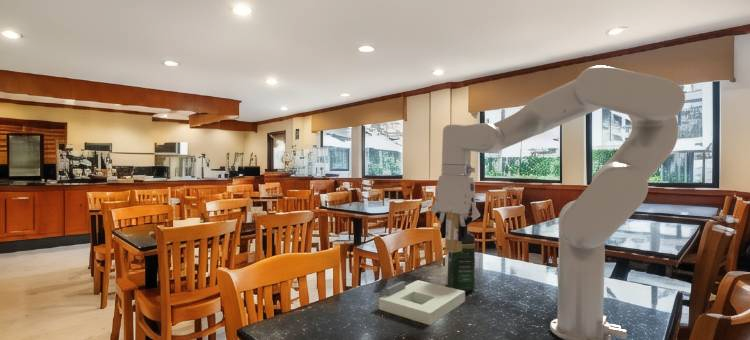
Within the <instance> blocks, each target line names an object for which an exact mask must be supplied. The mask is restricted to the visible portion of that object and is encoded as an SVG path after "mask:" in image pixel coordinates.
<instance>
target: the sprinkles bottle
mask: <svg viewBox="0 0 750 340" xmlns="http://www.w3.org/2000/svg"><path fill="white" fill-rule="evenodd" d="M449 208H450V209H452V207H449ZM459 226H461V223H460V217H459V214H455V213H452V211H450V212H448V213H446V237H445V238H444V239H445V247H444V250H445V251H446V252H448V251H449V252H460V251H462V248H461V246H462V245H461V243H462V241H458V232H459Z"/></svg>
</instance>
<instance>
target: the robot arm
mask: <svg viewBox="0 0 750 340" xmlns="http://www.w3.org/2000/svg"><path fill="white" fill-rule="evenodd" d="M685 103H686V95H685V91H684V90H683V88H682V87H681V86H680V85H679V83H676V82H675V81H673V80H671V79H669V78H664V77H661V76H656V75H652V74H648V73H647V74H646V73H643V72H637V71H636V72H635V71H631V70H627V69H622V68H618V67H612V66H606V65H595V66H594V65H593V66H590V67H587V68H586V69H584V70H583V71H581V73H580V74H579V75H578V76H577V77H576V78H575V79H573V80H571V81H569V82H567V83H565V84H562V85H560V86H558V87H556V88H554V89H552V90H549V91H547V92H544V93H542V94H541V95H539V96H536V97H534V98H533V99H530V100H529V101H528V102H527V103H526V104H525V105H524V106H523V107H522V108H521V109H519V110H518V111H517V112H515V113H513V114H511V115H509V116H508V117H507V116H506V118H503V119H502V120H499V121H497V122H494V123H492V124H491V123H487V122H482V123H476V124H467V125H466V124H446V125H445V126H444V127H443V130H442V142H441V144H442V146H441V148H442V150H441V175H438V181H437V185H436V189H435V199H434V200H435V201H434V202H433V204H432V206H431V207H430V209H429V210H430V212H431V213H432V214H433V215H434V216H435V217H436V218H437V220H438V223H440V235H441V239H446V238H445V237H446V213H448V212H450V211H452V213H455V214H459V217H460V223H461V226H459V232H458V241H464V240H466V238H467V231H468V226H469V225H470V224H471V223H472V222H473V221H474V220H476V219H478V218H479V217H481V213H480V212H479V210H478V208H477V203H476V202H477V200H476V186H475V179H474V177H473V176H471V175H472V173H473V174H475V173H476V167H472V165H471V160H472V159H471V158H472V152H474V153H475V152H476V153H481V154H493V153H497V152H499V151H501V150H505V149H506V148H509V147H511V146H514V145H516V144H519V143H521V142H524V141H525V140H528V139H530V138H532V137H536V136H538V135H541V134H543V133H546V132H548V131H550V130H553V129H554V128H557V127H559V126H562V125H564V124H566V123H569V122H571V121H574V120H576V119H579V118H581V117H583V116H586V115H589V114H591V113H593V112H596V111H597V110H600V109H606V110H609V111H612V112H616V113H621V114H623V115H627V117H628V118H629V119H630V122H631V131H630V133H629V135H628V137H627V138H626V139H625V140H624V141H623V143H622V144H621V145H620V147H619V148H618V149H617V150H616V151H615V152H614V154H613V155H611V157H610V158H609V159H608V160H607V161H606V162H605V163H604V164H603V165H602V166H601V167H600V168H599V169H598V170H597V171H596V172H595V173H594V175H593V176H592V179H591V182H590V184H589V185H587V187H586V188H585V190H583V191H582V193H581V194H580V195H579V196H578V197H577V199H574V200H573V201H572V200H571V201H569V202H568V203H566V204H565V205H563V207H562V209H561V210H560V212H559V214H558V264H557V265H558V267H557V269H558V271H557V275H558V276H557V318H555V319H553V320H551V321H550V324H549V325H550V326H549V327H550V331H551V332H552V333H553V334H554V335H556V337H558V338H560V339H562V340H612V337H616V338H618V339H622V340H626V339H627V330H626V329H622V326H621V325H618V324H613V323H610V322H609V321H607V316H606V315H604V300H605V299H604V297H605V296H604V295H605V291H604V290H605V268H606V267H605V264H606V263H605V261H606V260H605V259H606V255H605V254H606V253H605V251H606V248H605V247H606V246H605V245H606V243H605V242H606V241H608V240H609V239H610V238H611V237H612V236H613V235H614V234H615V233H616V232H617V231H618V230H619V229H620V228H621V227H622V226H623V225H624V224H625V223H626V221H628V219H630V217H631V216H632V215H633V214H634V213H635V212H636V211H637V210H638V209H639V208H640V207H641V206H642V204H643V203H644V201H645V199H646V198H647V195H648V192H649V182H648V181H649V180H650V178H652V176H653V175H655V173H656V172H657V171H658V169H659V168H660V167H661V166H662V164H663V163H665V162H666V161H667V159H668V157H670V155H671V153H673V150H674V149H675V147H676V144H677V141H678V136H679V123H678V120H677V115H678V114H679V113H680V112H681V111H682V110H683V107H684V106H685ZM449 207H452V209H450V208H449ZM469 214H472V215H469Z"/></svg>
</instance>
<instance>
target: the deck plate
mask: <svg viewBox="0 0 750 340" xmlns="http://www.w3.org/2000/svg"><path fill="white" fill-rule="evenodd" d="M465 302H466V292H465V291H462V290H458V289H454V288H450V287H449V286H445V285H440V284H435V283H432V282H428V281H425V280H424V281H423V280H419V279H417V280H415V281H413V282H411V283H408V284H407V285H406V281H405V280H404V281H403V280H402V281H399V282H396V283H395V284H393V285H390V286H388V287H386V288H385V295H383V296H381V297H380V298H378V310H381V311H383V312H386V313H390V314H393V315H396V316H399V317H402V318H406V319H409V320H412V321H414V322H418V323H421V324H425V325H429V326H432V325H433V324H434V323H435V322H437V321H439V320H440V319H442V318H443V317H444V316H446V315H448V313H450V312H451V311H453V310H454V309H456V308H457V307H458V306H461V305H462V304H463V303H465Z"/></svg>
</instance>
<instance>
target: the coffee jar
mask: <svg viewBox="0 0 750 340" xmlns="http://www.w3.org/2000/svg"><path fill="white" fill-rule="evenodd" d="M461 245H462V246H461V248H462V251H460V252H449V251H447V252H448V253H447V254H448V255H447V257H448V258H447V285H448V287H450V288H454V289H458V290H462V291H465V293H467V292H471V291H472V292H473V291H474V290H475V287H476V286H475V285H476V284H475V276H476V275H475V273H476V272H475V270H476V269H475V261H476V260H475V256H476V255H475V251H476V237H475V235H474V234H473V233H471V232H469V231H468V230H467V238H466V240H464V241H462V243H461Z"/></svg>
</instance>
